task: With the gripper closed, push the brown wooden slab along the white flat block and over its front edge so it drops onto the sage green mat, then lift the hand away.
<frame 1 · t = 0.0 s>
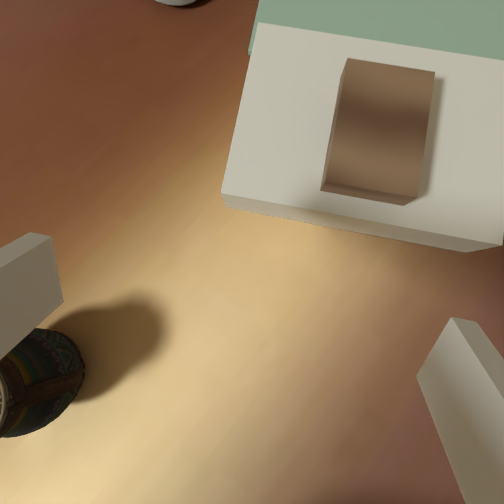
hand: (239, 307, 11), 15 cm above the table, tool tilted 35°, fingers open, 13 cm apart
brown wooden slab: (371, 139, 23), point 4 cm above the table, touching white flat block
white flat block: (356, 151, 27), on the table
mate gourd: (54, 370, 26), on the table
mat: (379, 15, 29), on the table
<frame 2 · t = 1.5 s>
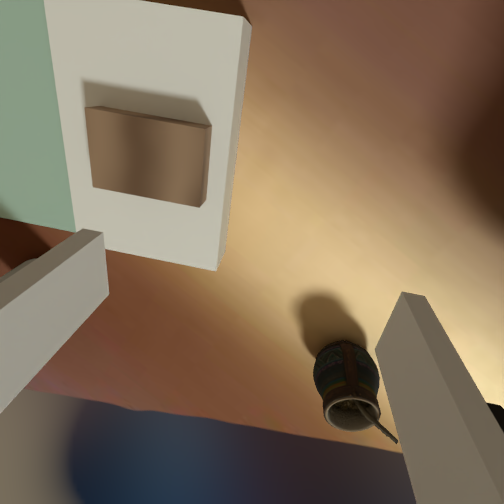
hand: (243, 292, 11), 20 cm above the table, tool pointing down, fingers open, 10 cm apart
brown wooden slab: (155, 154, 26), point 4 cm above the table, touching white flat block
white flat block: (162, 144, 29), on the table
mate gourd: (343, 354, 39), on the table
mat: (28, 119, 30), on the table
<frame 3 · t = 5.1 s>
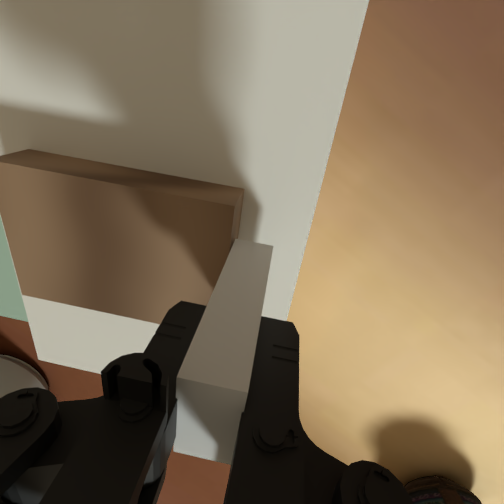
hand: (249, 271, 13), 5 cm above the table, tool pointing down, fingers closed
brown wooden slab: (137, 235, 14), point 4 cm above the table, touching white flat block
white flat block: (176, 206, 18), on the table
mate gourd: (434, 488, 27), on the table
can: (18, 377, 28), on the table
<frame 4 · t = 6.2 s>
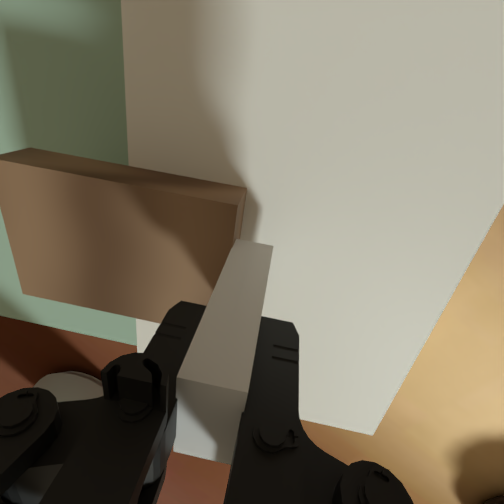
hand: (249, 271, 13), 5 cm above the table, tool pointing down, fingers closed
brown wooden slab: (138, 234, 14), point 4 cm above the table, touching gripper
white flat block: (290, 227, 17), on the table
mat: (59, 183, 18), on the table
can: (86, 393, 27), on the table
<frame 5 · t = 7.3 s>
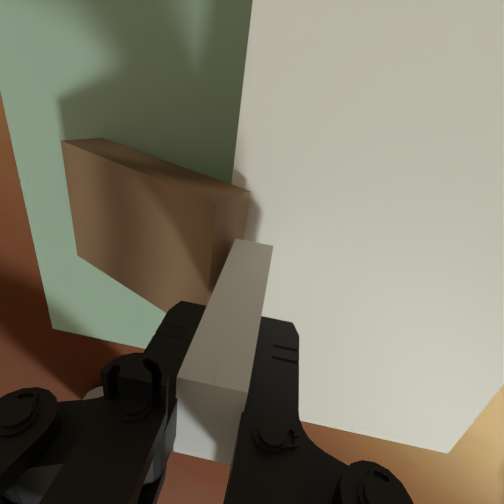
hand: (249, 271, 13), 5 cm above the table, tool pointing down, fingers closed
brown wooden slab: (164, 223, 15), point 2 cm above the table, tilted 26°, touching gripper
white flat block: (367, 243, 17), on the table
mat: (128, 197, 18), on the table
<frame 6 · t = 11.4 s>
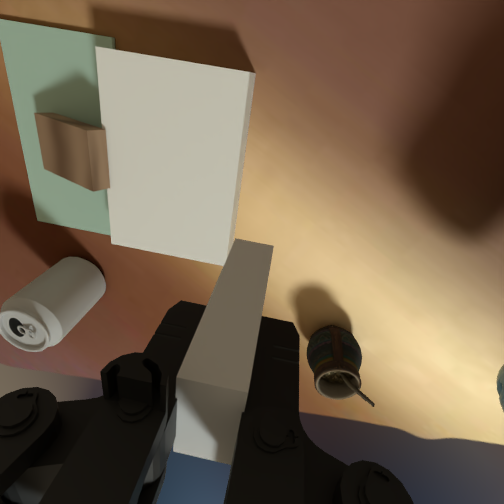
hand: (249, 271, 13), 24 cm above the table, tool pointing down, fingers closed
brown wooden slab: (81, 149, 34), point 2 cm above the table, tilted 25°, touching white flat block, mat
white flat block: (182, 162, 36), on the table
mate gourd: (333, 337, 45), on the table
mat: (71, 142, 37), on the table
can: (85, 275, 46), on the table
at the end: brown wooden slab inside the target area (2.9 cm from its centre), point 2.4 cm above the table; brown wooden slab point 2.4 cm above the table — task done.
